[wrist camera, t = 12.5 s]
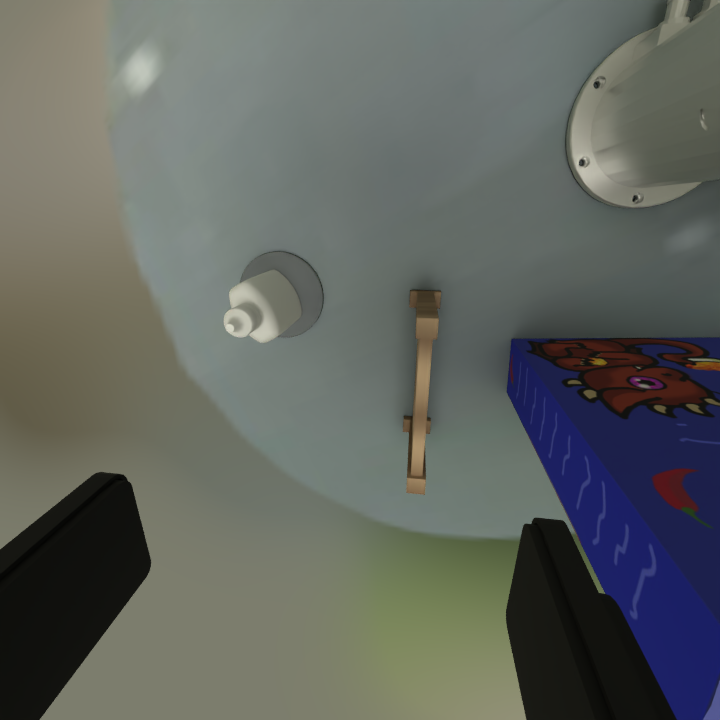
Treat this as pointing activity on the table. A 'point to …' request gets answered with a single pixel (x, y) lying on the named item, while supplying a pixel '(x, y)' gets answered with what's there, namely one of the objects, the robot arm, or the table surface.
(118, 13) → the table surface
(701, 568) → the cereal box
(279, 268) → the coaster
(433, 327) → the brown piece
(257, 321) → the eye dropper bottle
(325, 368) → the table surface
